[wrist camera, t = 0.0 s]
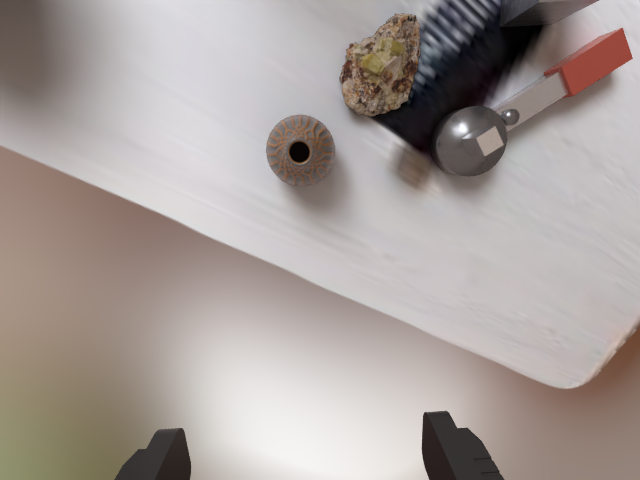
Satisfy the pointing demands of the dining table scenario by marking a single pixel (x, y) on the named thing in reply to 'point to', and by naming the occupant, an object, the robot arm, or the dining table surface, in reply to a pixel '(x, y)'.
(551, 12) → the domed steel cube
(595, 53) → the ratchet
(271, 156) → the vase
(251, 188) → the dining table surface
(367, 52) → the mineral rock
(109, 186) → the dining table surface
